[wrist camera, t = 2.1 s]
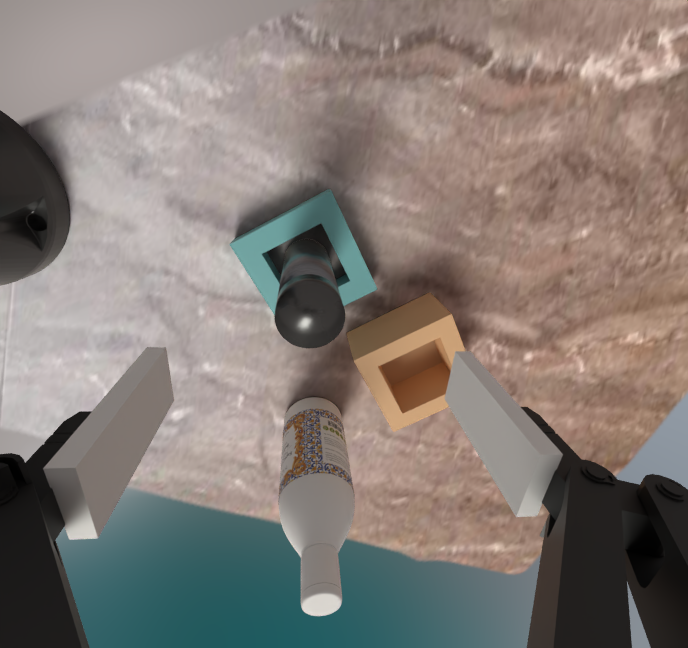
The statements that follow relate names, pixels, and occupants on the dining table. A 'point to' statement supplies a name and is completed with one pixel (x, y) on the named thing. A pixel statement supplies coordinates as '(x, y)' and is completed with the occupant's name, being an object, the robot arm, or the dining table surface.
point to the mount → (288, 226)
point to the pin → (308, 297)
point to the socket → (407, 359)
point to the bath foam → (316, 498)
